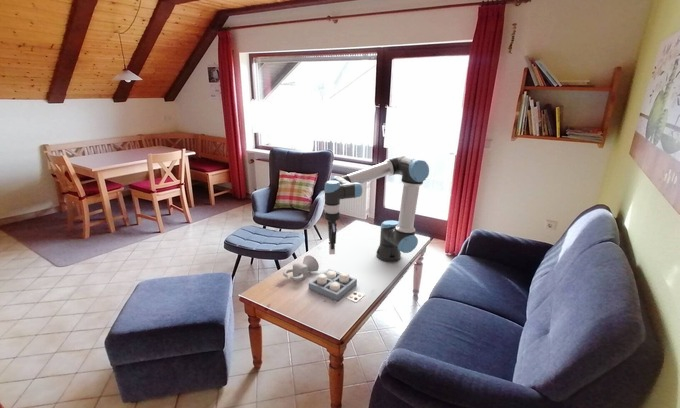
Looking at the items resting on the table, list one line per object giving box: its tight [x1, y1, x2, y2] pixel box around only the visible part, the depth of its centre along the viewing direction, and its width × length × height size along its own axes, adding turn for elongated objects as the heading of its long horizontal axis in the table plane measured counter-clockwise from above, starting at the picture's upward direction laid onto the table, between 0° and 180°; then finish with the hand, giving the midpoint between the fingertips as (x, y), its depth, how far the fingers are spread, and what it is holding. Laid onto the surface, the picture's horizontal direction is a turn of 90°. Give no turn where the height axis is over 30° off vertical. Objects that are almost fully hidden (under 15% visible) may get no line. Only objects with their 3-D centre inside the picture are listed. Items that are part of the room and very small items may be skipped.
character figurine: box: [282, 254, 320, 281], centre depth 187 cm, size 13×9×20 cm
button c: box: [339, 271, 350, 284], centre depth 178 cm, size 5×5×4 cm
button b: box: [316, 273, 327, 286], centre depth 176 cm, size 5×5×4 cm
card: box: [345, 290, 365, 304], centre depth 171 cm, size 8×6×1 cm
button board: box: [308, 268, 358, 303], centre depth 178 cm, size 18×18×4 cm
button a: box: [330, 282, 340, 292], centre depth 172 cm, size 5×5×4 cm
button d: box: [326, 270, 337, 280], centre depth 183 cm, size 5×5×4 cm
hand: (332, 253), depth 179 cm, fingers closed
